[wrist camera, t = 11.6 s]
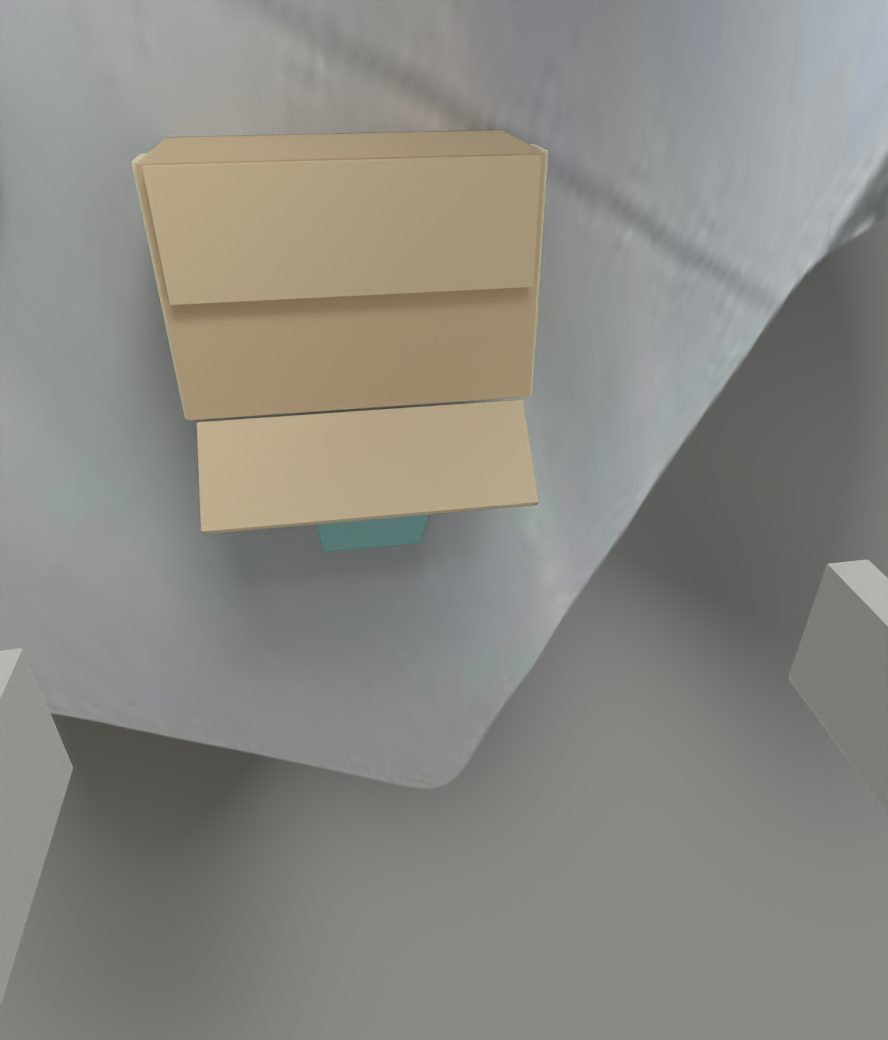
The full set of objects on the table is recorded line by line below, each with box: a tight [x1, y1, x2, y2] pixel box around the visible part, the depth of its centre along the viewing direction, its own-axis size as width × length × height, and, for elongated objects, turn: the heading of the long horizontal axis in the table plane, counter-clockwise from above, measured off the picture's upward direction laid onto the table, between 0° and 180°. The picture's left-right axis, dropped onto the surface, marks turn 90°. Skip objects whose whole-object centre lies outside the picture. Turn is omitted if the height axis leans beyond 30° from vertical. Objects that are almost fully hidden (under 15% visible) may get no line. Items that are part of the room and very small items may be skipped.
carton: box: [131, 130, 548, 420], centre depth 40 cm, size 12×18×10 cm, turn 90°
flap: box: [197, 400, 539, 552], centre depth 43 cm, size 6×17×9 cm
